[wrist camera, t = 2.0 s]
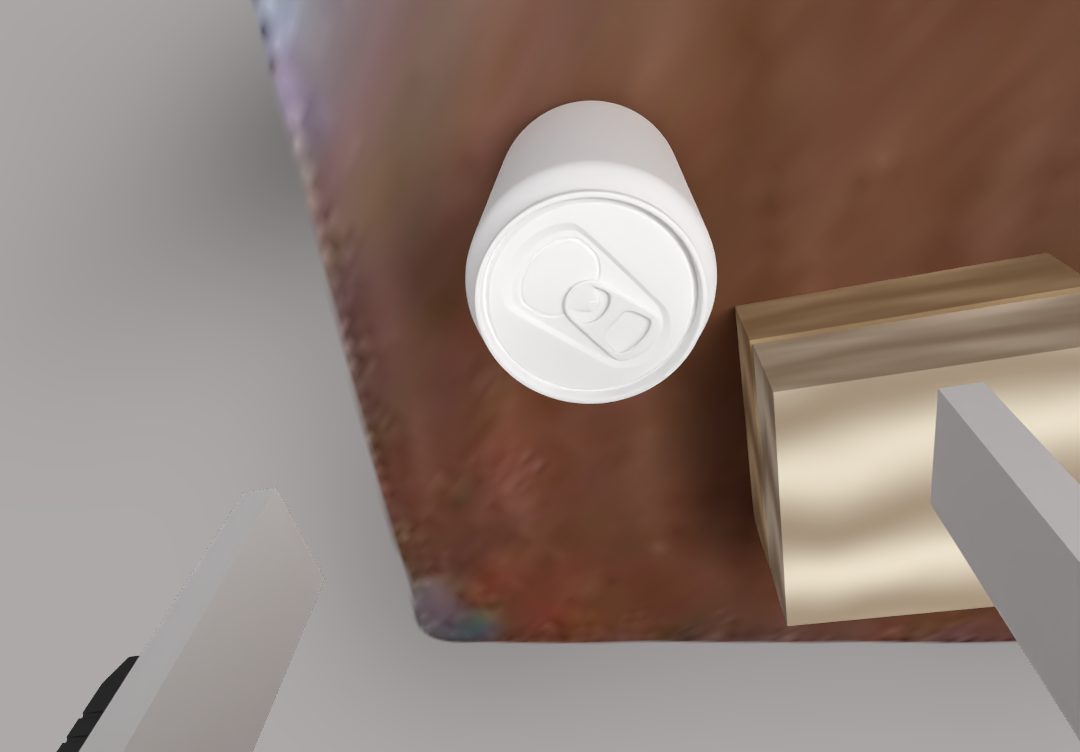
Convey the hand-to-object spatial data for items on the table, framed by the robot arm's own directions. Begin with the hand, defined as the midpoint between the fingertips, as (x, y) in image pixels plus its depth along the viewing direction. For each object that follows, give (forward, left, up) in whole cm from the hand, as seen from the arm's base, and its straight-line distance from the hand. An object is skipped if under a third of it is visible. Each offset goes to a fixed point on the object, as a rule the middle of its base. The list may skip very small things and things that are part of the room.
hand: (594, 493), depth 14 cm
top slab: (+14, +13, -17) cm, 26 cm away
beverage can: (0, 0, -21) cm, 21 cm away
